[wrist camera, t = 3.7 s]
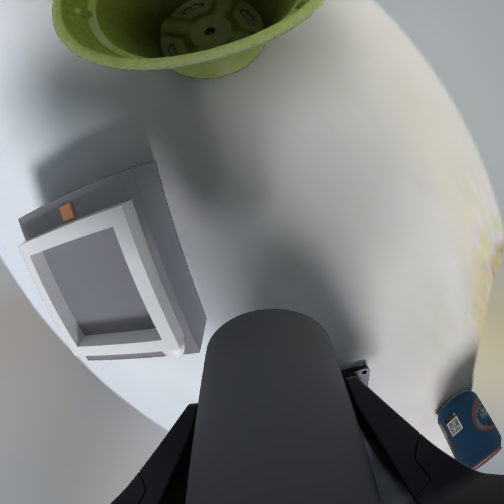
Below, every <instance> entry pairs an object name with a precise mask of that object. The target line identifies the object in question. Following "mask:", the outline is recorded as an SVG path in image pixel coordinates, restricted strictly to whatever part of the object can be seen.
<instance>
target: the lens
mask: <svg viewBox="0 0 504 504" xmlns="http://www.w3.org/2000/svg"><path fill="white" fill-rule="evenodd" d="M185 504H382V503H381V500H380V496H379V492H378V488H377V485H376V481H375V477H374V474H373V470H372V467H371V463H370V460H369V457H368V453H367V450H366V447H365V443H364V440H363V437H362V434H361V430H360V427H359V424H358V421H357V418H356V415H355V412H354V409H353V406H352V403H351V399H350V396H349V394H348V391H347V388H346V385H345V382H344V379H343V376H342V373H341V370H340V367H339V364H338V362H337V359H336V356H335V353H334V350H333V348H332V345H331V342H330V339H329V337H328V334H327V333H326V331H325V330H324V328H323V327H322V326H321V325H320V324H319V323H317V322H316V321H315V320H313V319H312V318H310V317H308V316H306V315H304V314H301V313H298V312H294V311H289V310H282V309H265V310H258V311H253V312H249V313H245V314H243V315H240V316H237V317H235V318H233V319H231V320H230V321H228V322H227V323H225V324H224V325H222V326H221V327H220V328H219V329H218V330H217V331H216V332H215V333H214V334H213V336H212V337H211V339H210V341H209V343H208V346H207V351H206V356H205V363H204V369H203V375H202V382H201V388H200V395H199V402H198V408H197V415H196V422H195V430H194V437H193V444H192V452H191V460H190V468H189V476H188V485H187V494H186V503H185Z"/></svg>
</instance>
